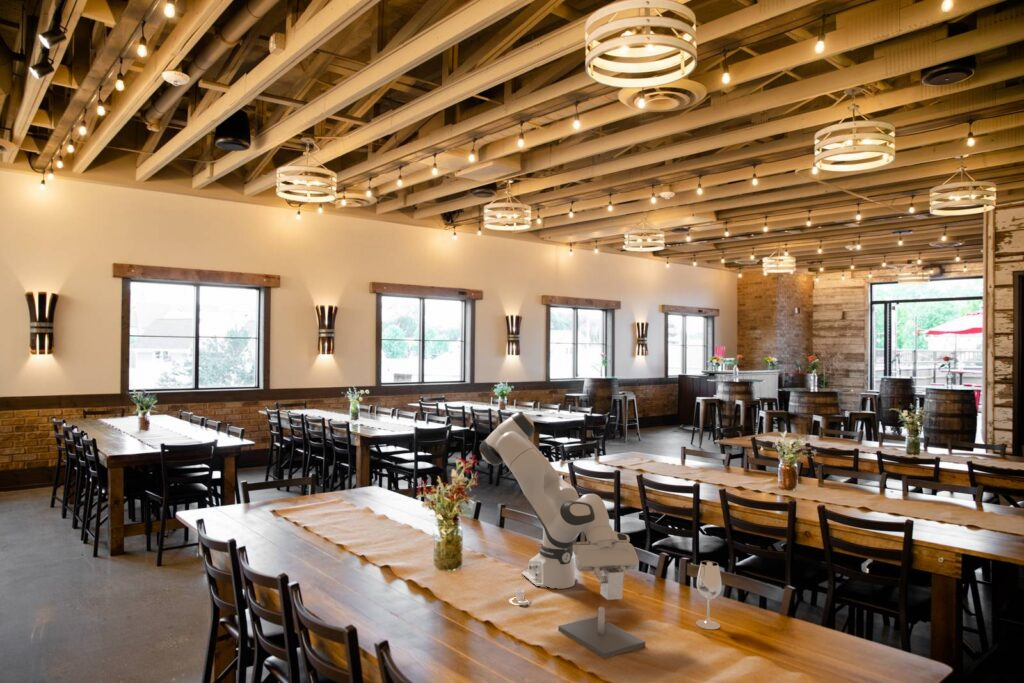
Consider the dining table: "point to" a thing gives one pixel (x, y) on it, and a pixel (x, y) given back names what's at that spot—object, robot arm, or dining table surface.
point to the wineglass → (709, 589)
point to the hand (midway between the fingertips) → (612, 582)
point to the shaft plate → (601, 636)
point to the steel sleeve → (612, 583)
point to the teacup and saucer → (519, 598)
